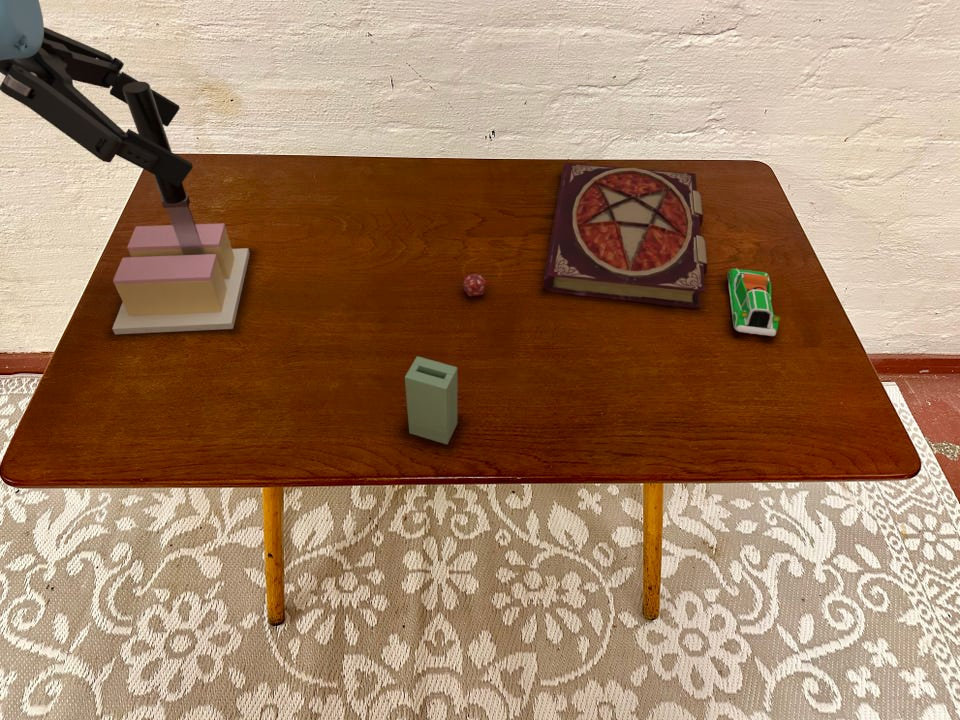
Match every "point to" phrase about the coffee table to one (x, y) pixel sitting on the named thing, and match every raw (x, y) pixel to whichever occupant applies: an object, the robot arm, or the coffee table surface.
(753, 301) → the toy car
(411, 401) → the knife stand
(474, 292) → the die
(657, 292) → the book
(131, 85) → the knife
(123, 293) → the cake
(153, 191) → the coffee table surface
